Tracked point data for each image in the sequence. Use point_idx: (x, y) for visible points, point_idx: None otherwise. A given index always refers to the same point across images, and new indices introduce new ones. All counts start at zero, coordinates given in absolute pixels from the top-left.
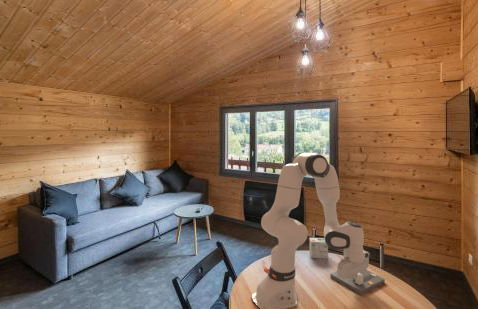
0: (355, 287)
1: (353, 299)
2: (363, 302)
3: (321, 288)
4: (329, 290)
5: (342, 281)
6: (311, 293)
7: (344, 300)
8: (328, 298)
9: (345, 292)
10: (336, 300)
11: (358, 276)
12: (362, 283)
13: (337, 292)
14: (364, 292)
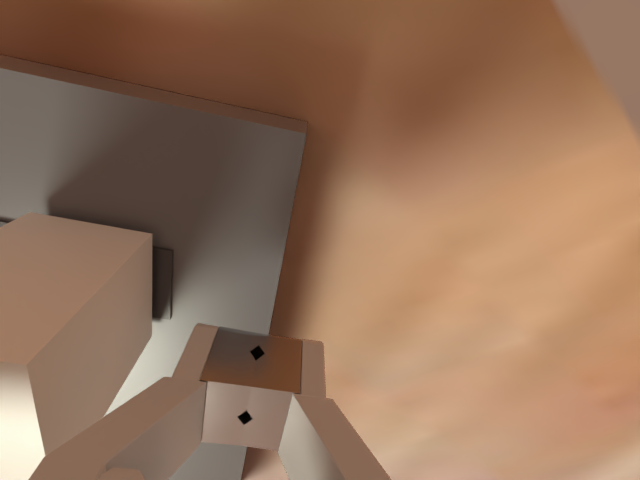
0: (270, 251)
1: (492, 163)
2: (480, 6)
3: (491, 457)
4: (477, 408)
5: None
6: (624, 471)
7: (585, 237)
8: (634, 362)
9: (398, 295)
10: (633, 298)
11: (49, 378)
12: (52, 216)
13: (461, 350)
14: (212, 102)
